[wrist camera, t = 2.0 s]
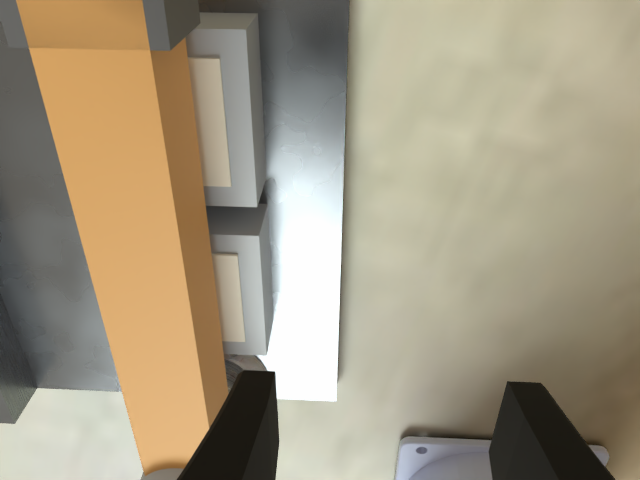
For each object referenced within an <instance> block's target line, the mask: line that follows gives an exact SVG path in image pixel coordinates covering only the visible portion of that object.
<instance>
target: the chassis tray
mask: <svg viewBox="0 0 640 480" xmlns="http://www.w3.org/2000/svg"><path fill="white" fill-rule="evenodd" d="M198 3H199V12H210V13H258V25H259V44H260V64H261V83H262V102H263V122H264V141H265V160H266V180H265V183H264V186H263V190H262V193H261V196H260V200H259V203H258V204H268V218H269V237H270V257H271V276H272V295H273V315H274V319H273V325H272V330H271V335H270V341H269V346H268V351H267V356H262V355H238V354H224V361H225V369H226V377H227V386H228V394H229V392H230V390H231V388H232V386H233V384H234V382H235V380H236V377H237V375H238V374H239V373H240V372H242V371H243V370H256V371H275V373H276V392H277V399H291V400H313V401H335V402H336V401H337V372H338V340H339V309H340V277H341V246H342V214H343V183H344V151H345V120H346V88H347V57H348V26H349V0H198ZM37 388H51V389H72V390H94V391H116V392H122V390H121V386H120V382H119V379H118V375H117V371H116V368H115V364H114V360H113V357H112V353H111V349H110V345H109V342H108V338H107V334H106V331H105V327H104V323H103V320H102V316H101V312H100V309H99V305H98V301H97V297H96V294H95V290H94V286H93V283H92V279H91V275H90V272H89V268H88V264H87V261H86V257H85V253H84V249H83V246H82V242H81V238H80V235H79V231H78V227H77V224H76V220H75V216H74V213H73V209H72V205H71V201H70V198H69V194H68V190H67V187H66V183H65V179H64V176H63V172H62V168H61V165H60V161H59V157H58V153H57V150H56V146H55V142H54V139H53V135H52V131H51V128H50V124H49V120H48V116H47V113H46V109H45V105H44V102H43V98H42V94H41V91H40V87H39V83H38V80H37V76H36V72H35V68H34V65H33V61H32V57H31V54H30V50H29V48H9V46H8V42H7V39H6V36H5V32H4V29H3V25H2V22H1V18H0V423H11V424H15V423H16V421H17V419H18V418H19V416H20V415H21V413H22V411H23V410H24V408H25V407H26V405H27V403H28V402H29V400H30V399H31V397H32V395H33V394H34V392H35V391H36V389H37Z"/></svg>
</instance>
